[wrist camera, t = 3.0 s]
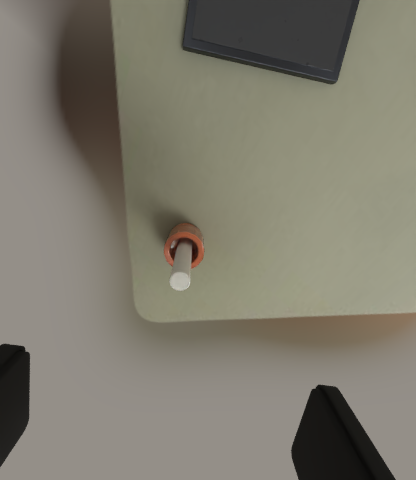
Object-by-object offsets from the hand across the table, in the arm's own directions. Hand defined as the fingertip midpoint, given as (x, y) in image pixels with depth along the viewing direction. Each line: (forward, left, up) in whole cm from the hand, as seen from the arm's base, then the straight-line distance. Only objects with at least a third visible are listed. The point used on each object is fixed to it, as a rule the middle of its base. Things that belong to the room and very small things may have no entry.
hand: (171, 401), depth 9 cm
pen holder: (0, 0, -20) cm, 20 cm away
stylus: (0, 0, -19) cm, 19 cm away
